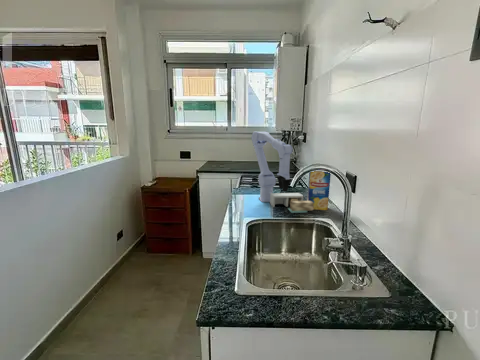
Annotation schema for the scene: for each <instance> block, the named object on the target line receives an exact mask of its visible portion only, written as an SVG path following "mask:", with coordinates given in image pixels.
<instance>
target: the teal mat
mask: <svg viewBox="0 0 480 360" xmlns="http://www.w3.org/2000/svg"><path fill="white" fill-rule="evenodd" d="M287 210H288V211H289V212H290V213H291V214H294V213H295V214H299V213H308V211H292V210H291V209H290V207H287Z"/></svg>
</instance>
